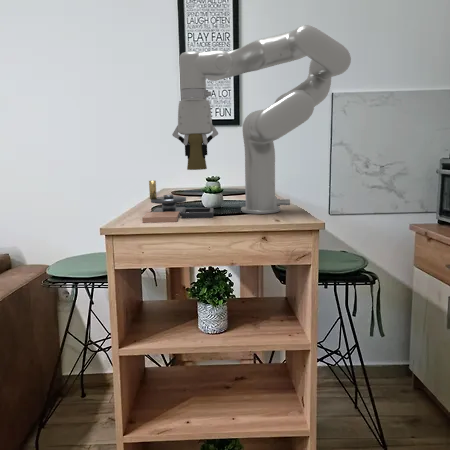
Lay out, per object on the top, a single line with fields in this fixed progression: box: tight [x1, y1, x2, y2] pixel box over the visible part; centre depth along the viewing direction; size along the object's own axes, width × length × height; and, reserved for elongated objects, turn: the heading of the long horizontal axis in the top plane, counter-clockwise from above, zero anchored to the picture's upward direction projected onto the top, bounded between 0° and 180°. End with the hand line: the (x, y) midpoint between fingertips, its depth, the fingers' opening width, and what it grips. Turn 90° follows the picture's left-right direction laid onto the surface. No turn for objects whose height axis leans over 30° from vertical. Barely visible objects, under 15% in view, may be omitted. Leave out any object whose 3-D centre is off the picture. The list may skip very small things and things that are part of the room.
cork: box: [186, 134, 208, 171], centre depth 140 cm, size 6×6×11 cm
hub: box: [152, 203, 186, 212], centre depth 153 cm, size 10×10×3 cm
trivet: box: [142, 211, 181, 224], centre depth 138 cm, size 10×10×2 cm
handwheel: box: [148, 180, 187, 205], centre depth 152 cm, size 12×12×7 cm
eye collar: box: [180, 207, 214, 219], centre depth 144 cm, size 10×10×2 cm
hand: (196, 157), depth 141 cm, fingers closed on cork, 4 cm apart
